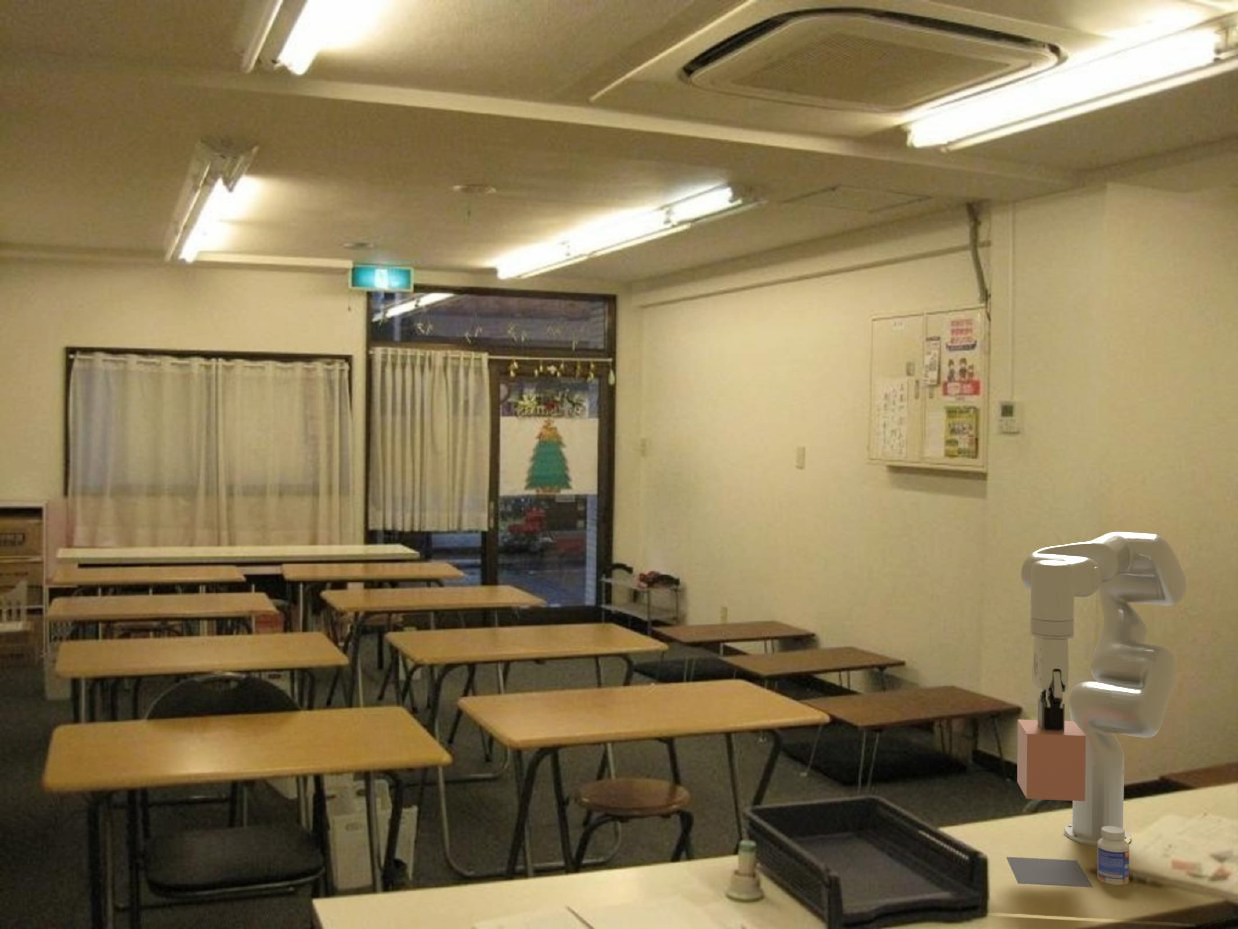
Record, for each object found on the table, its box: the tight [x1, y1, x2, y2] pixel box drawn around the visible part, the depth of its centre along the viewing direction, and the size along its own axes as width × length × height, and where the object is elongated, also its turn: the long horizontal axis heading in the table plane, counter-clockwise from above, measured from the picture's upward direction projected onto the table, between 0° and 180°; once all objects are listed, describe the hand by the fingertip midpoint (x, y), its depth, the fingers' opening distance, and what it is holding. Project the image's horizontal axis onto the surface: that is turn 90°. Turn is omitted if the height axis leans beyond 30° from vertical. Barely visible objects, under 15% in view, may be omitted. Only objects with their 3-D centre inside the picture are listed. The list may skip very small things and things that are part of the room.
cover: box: [1016, 697, 1086, 802], centre depth 226 cm, size 10×10×17 cm
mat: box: [1006, 856, 1094, 888], centre depth 227 cm, size 13×13×1 cm
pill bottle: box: [1096, 826, 1130, 886], centre depth 223 cm, size 5×5×10 cm
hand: (1051, 724), depth 226 cm, fingers closed on cover, 4 cm apart
